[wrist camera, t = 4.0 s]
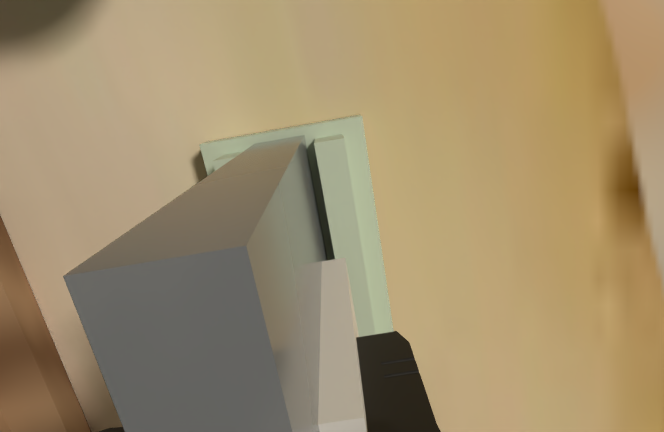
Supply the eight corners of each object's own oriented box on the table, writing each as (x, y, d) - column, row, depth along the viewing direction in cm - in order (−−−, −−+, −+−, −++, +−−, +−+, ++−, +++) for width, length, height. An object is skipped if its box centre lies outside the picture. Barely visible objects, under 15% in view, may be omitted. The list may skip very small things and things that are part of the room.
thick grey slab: (254, 143, 14) (62, 276, 4) (304, 135, 14) (246, 245, 4) (306, 376, 17) (278, 817, 7) (348, 370, 17) (385, 805, 7)
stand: (207, 141, 16) (184, 150, 13) (359, 115, 16) (366, 117, 13) (267, 377, 19) (258, 421, 16) (395, 358, 19) (406, 398, 16)
